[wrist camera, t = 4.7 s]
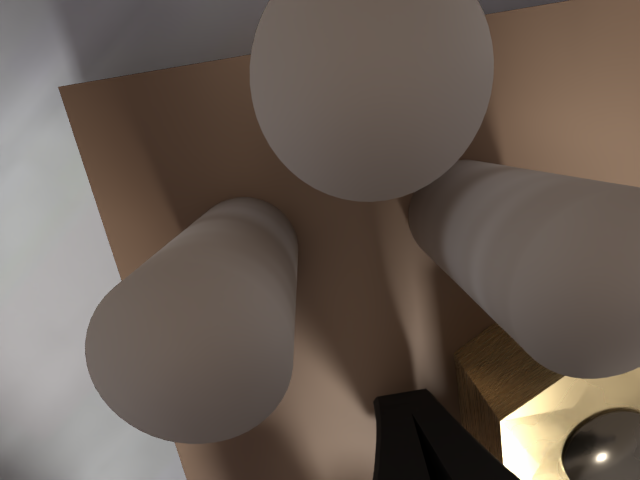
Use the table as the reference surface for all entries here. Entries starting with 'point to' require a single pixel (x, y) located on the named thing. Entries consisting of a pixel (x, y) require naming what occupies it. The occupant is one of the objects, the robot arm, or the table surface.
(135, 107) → the board
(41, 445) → the table surface
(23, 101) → the table surface
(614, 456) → the nut
